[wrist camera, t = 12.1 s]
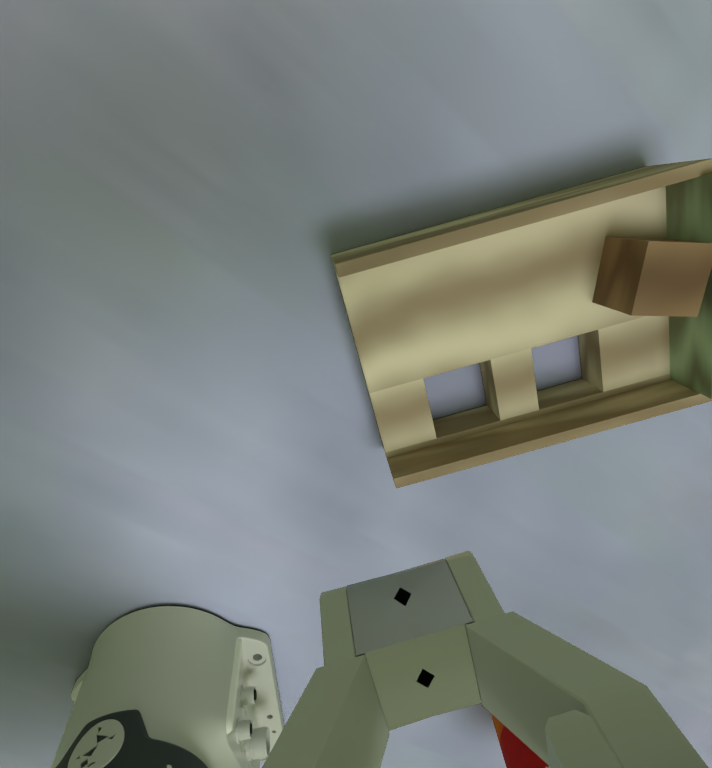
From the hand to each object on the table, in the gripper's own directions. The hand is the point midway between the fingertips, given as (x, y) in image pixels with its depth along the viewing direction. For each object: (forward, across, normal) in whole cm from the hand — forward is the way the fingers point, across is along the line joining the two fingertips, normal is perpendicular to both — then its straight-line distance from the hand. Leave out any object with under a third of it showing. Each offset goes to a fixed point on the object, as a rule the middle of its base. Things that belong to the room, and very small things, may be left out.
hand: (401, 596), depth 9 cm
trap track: (+27, -14, +4) cm, 31 cm away
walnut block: (+24, -21, +2) cm, 32 cm away
